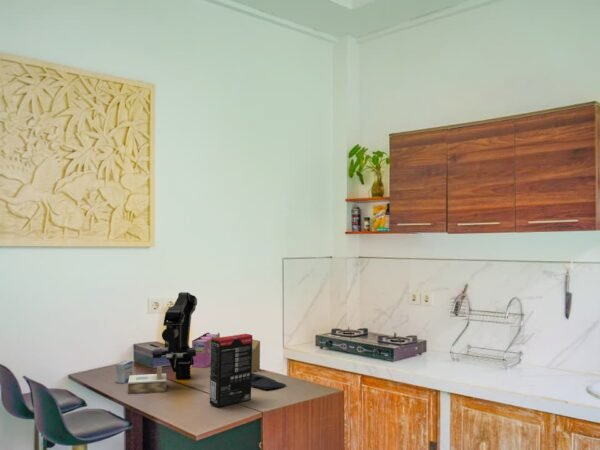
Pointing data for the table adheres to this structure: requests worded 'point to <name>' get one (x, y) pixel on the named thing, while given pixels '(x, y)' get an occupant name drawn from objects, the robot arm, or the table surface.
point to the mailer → (146, 387)
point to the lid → (148, 377)
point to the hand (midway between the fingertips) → (174, 372)
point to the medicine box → (124, 371)
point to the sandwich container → (255, 355)
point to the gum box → (203, 350)
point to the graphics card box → (230, 369)
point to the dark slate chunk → (264, 382)
